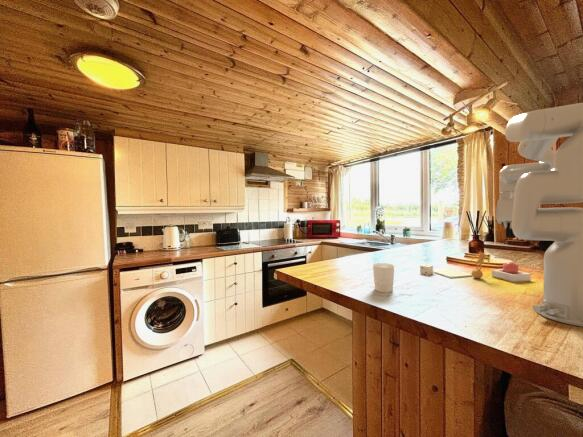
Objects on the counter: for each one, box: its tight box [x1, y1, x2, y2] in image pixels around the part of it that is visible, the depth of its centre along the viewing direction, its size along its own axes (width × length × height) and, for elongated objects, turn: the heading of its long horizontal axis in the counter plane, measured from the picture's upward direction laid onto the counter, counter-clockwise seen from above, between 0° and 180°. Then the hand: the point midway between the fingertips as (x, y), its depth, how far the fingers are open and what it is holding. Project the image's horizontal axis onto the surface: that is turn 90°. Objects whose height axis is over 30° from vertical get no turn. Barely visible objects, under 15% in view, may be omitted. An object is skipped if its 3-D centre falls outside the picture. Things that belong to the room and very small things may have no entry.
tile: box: [433, 268, 473, 279], centre depth 114 cm, size 12×12×1 cm
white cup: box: [372, 262, 395, 294], centre depth 94 cm, size 8×8×10 cm
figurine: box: [471, 251, 490, 279], centre depth 106 cm, size 8×6×12 cm
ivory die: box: [419, 264, 434, 276], centre depth 116 cm, size 4×4×4 cm
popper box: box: [491, 268, 532, 283], centre depth 104 cm, size 9×9×3 cm
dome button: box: [502, 261, 519, 274], centre depth 104 cm, size 5×5×5 cm
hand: (510, 237), depth 103 cm, fingers closed
